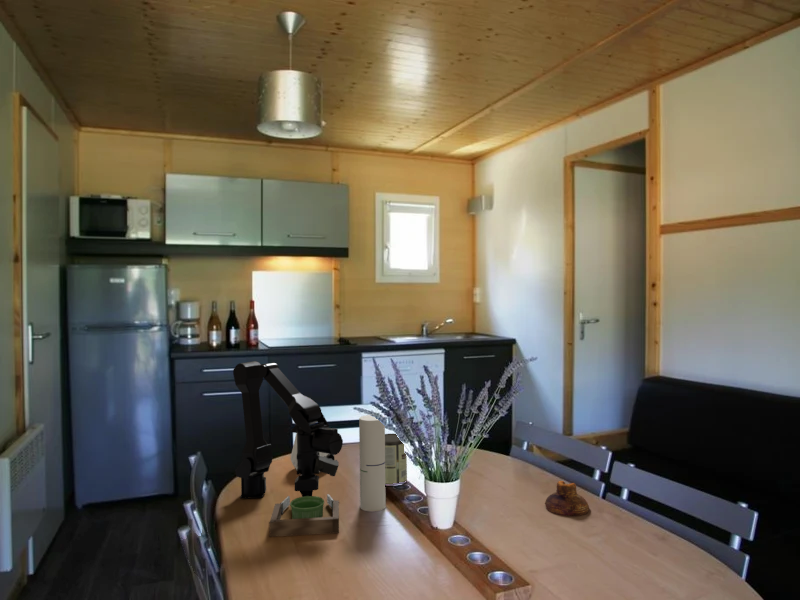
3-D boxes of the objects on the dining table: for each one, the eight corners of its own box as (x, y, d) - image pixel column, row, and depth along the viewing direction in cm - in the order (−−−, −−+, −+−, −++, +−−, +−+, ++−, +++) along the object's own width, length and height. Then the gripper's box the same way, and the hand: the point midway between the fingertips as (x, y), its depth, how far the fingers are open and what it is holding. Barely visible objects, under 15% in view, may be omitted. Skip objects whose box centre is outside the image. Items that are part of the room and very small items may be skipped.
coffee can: (377, 476, 182) (376, 433, 182) (408, 476, 181) (408, 433, 181) (372, 486, 172) (372, 441, 172) (405, 487, 171) (405, 442, 171)
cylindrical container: (382, 512, 152) (381, 421, 152) (357, 510, 153) (356, 420, 153) (388, 502, 159) (387, 415, 159) (363, 501, 160) (363, 414, 160)
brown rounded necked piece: (535, 505, 156) (535, 479, 156) (567, 498, 162) (567, 473, 162) (565, 520, 146) (565, 493, 146) (599, 512, 151) (598, 485, 151)
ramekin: (308, 509, 155) (308, 493, 155) (331, 516, 149) (331, 500, 149) (283, 519, 148) (283, 503, 148) (306, 528, 142) (306, 511, 142)
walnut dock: (269, 536, 137) (269, 522, 137) (275, 516, 150) (275, 503, 150) (338, 532, 139) (338, 518, 139) (338, 513, 152) (338, 500, 152)
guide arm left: (282, 514, 151) (282, 503, 151) (279, 514, 151) (279, 503, 151) (290, 506, 157) (290, 495, 157) (287, 506, 157) (287, 495, 157)
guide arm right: (335, 511, 153) (335, 500, 153) (332, 512, 152) (332, 501, 152) (329, 504, 158) (329, 493, 158) (326, 504, 158) (326, 494, 158)
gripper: (336, 457, 146) (337, 516, 147) (336, 439, 165) (337, 491, 165) (293, 459, 145) (294, 519, 145) (298, 440, 163) (299, 493, 164)
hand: (308, 505), depth 155 cm, fingers closed
